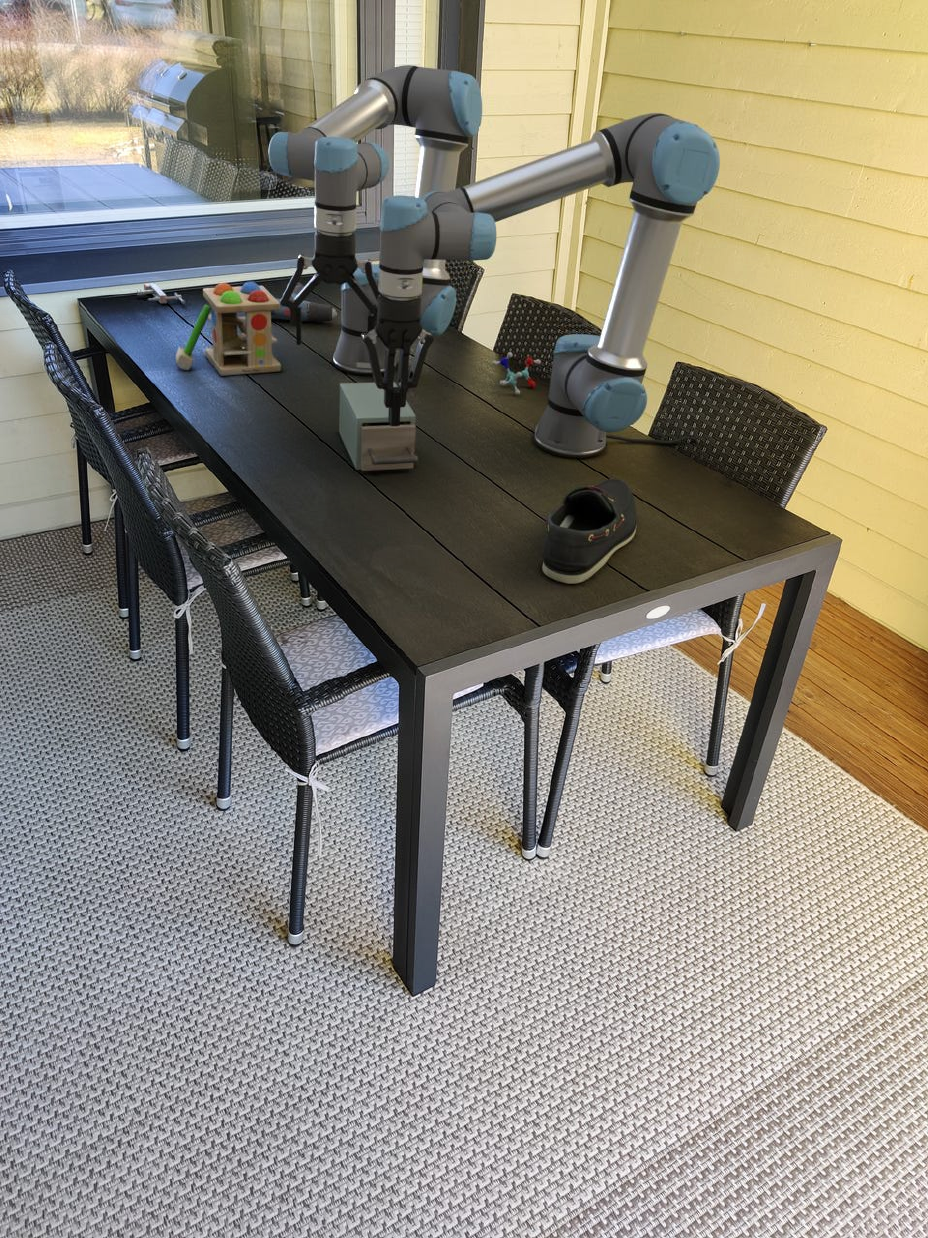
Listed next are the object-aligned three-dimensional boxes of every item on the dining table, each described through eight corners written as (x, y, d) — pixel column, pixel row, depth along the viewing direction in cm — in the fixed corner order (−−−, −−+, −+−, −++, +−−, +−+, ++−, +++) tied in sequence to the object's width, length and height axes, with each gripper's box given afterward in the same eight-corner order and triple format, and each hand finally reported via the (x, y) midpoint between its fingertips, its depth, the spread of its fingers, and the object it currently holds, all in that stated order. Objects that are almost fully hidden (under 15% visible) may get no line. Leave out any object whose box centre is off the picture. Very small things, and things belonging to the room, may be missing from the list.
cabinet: (412, 467, 194) (415, 416, 188) (355, 470, 191) (357, 418, 185) (392, 430, 207) (394, 381, 201) (339, 432, 204) (339, 383, 198)
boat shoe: (659, 521, 184) (668, 470, 179) (580, 590, 160) (587, 533, 155) (597, 502, 190) (604, 452, 184) (512, 566, 166) (517, 511, 160)
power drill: (344, 304, 276) (335, 327, 259) (277, 298, 275) (264, 321, 258) (344, 285, 273) (335, 306, 256) (277, 279, 272) (264, 300, 255)
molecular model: (536, 387, 225) (523, 344, 224) (499, 400, 229) (485, 359, 227) (549, 385, 235) (536, 345, 234) (513, 399, 239) (500, 359, 238)
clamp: (132, 284, 268) (169, 281, 272) (133, 292, 269) (170, 289, 273) (148, 300, 257) (185, 297, 262) (148, 309, 259) (186, 306, 263)
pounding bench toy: (183, 379, 220) (176, 299, 210) (169, 357, 231) (162, 280, 221) (282, 371, 230) (280, 294, 220) (264, 350, 240) (262, 276, 230)
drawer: (420, 481, 186) (423, 439, 182) (368, 484, 184) (369, 441, 179) (394, 433, 204) (396, 393, 199) (345, 435, 201) (346, 395, 196)
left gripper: (264, 230, 176) (267, 347, 188) (403, 241, 178) (397, 355, 190) (268, 221, 182) (271, 334, 194) (403, 231, 184) (397, 342, 196)
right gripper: (366, 301, 163) (363, 433, 176) (442, 300, 167) (433, 430, 180) (357, 287, 169) (354, 416, 182) (431, 287, 173) (423, 413, 186)
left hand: (334, 344), depth 192 cm, fingers open, 13 cm apart
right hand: (393, 423), depth 181 cm, fingers closed
